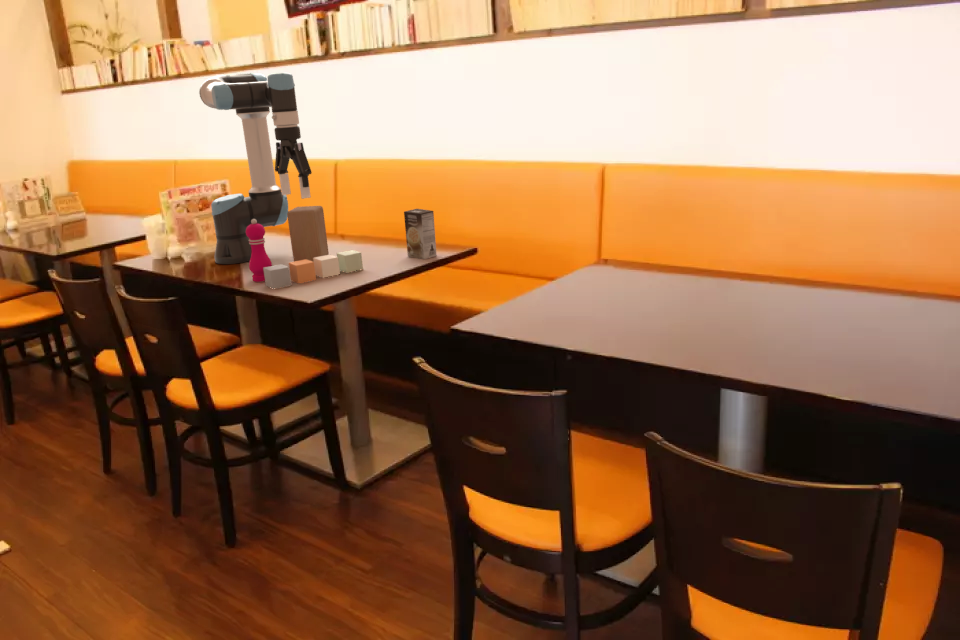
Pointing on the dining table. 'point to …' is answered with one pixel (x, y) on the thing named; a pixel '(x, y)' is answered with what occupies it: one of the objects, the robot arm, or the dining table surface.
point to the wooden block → (307, 232)
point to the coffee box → (420, 233)
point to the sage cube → (350, 261)
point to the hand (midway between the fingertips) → (296, 196)
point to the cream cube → (326, 265)
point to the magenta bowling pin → (257, 251)
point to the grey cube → (277, 276)
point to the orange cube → (302, 271)
